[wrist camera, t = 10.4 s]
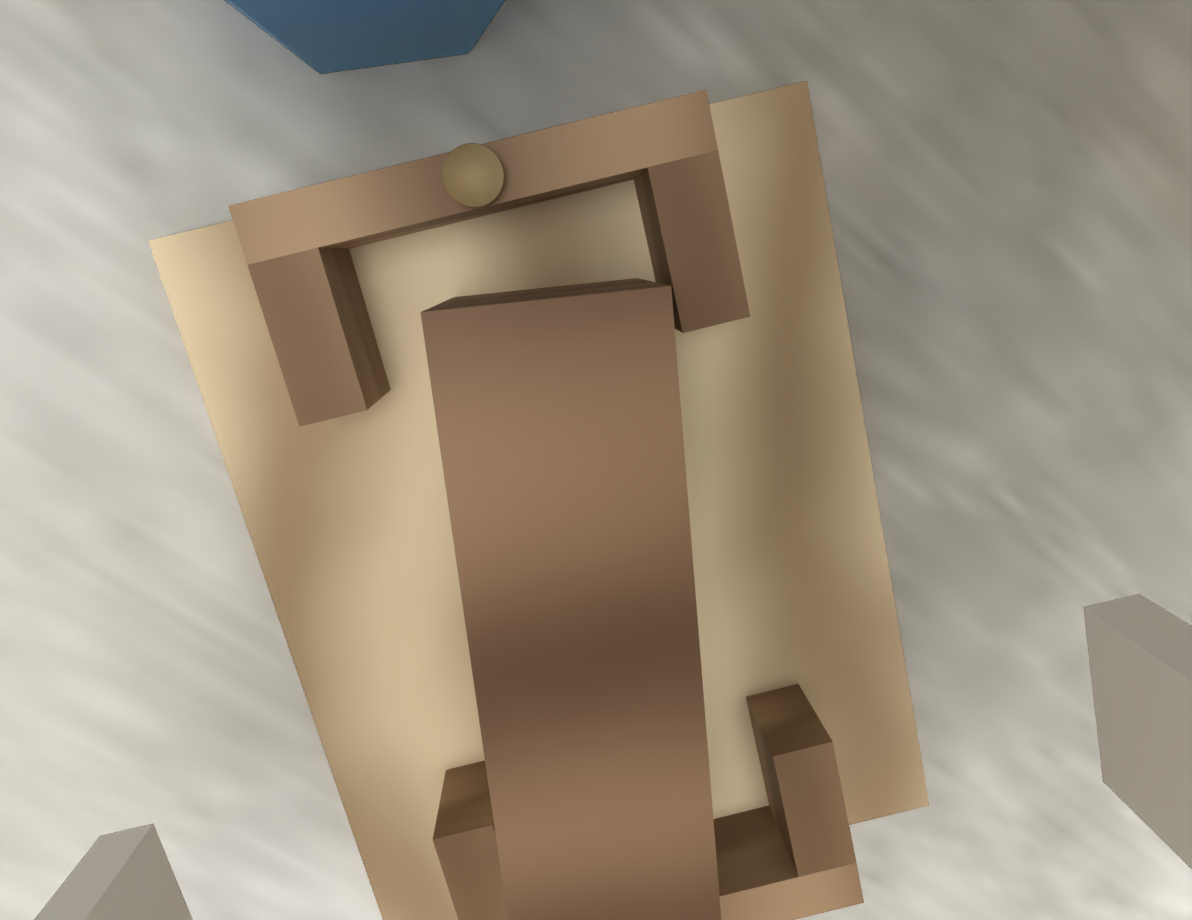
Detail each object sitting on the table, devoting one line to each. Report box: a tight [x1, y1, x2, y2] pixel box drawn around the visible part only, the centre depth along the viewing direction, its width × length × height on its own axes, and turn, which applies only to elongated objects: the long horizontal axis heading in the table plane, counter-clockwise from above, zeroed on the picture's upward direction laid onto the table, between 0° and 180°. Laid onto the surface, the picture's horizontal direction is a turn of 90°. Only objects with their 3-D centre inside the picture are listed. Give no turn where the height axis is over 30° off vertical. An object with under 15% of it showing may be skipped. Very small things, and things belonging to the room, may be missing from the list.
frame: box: [421, 278, 721, 920], centre depth 20 cm, size 14×5×6 cm, turn 6°
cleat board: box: [148, 81, 929, 920], centre depth 22 cm, size 16×20×5 cm
